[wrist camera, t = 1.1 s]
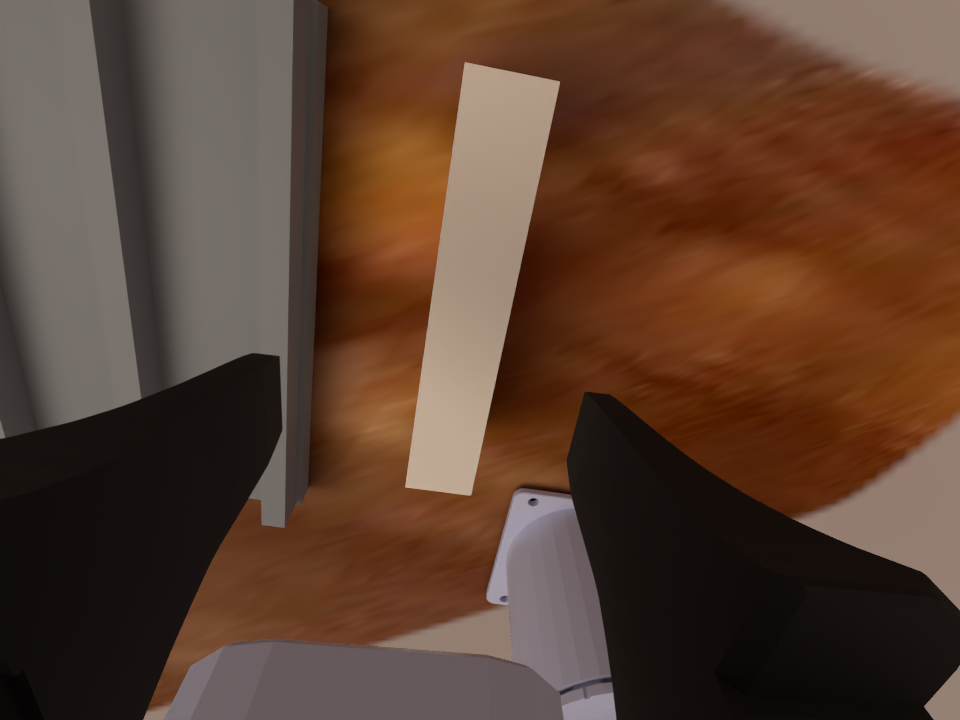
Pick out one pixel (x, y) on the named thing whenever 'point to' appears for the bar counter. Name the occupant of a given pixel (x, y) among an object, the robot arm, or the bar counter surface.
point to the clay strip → (477, 268)
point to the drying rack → (159, 206)
